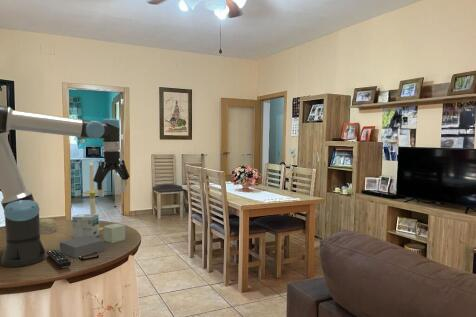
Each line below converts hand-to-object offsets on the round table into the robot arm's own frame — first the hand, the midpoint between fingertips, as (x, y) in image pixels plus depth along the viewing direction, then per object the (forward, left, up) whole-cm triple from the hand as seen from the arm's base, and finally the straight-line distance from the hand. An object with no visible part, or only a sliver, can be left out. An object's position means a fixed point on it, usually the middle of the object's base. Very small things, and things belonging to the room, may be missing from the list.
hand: (112, 194), depth 171 cm
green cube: (-2, -4, -22) cm, 22 cm away
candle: (+2, +22, -22) cm, 31 cm away
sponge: (-15, +38, -22) cm, 47 cm away
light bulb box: (-7, +13, -22) cm, 26 cm away
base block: (-20, -8, -22) cm, 30 cm away
